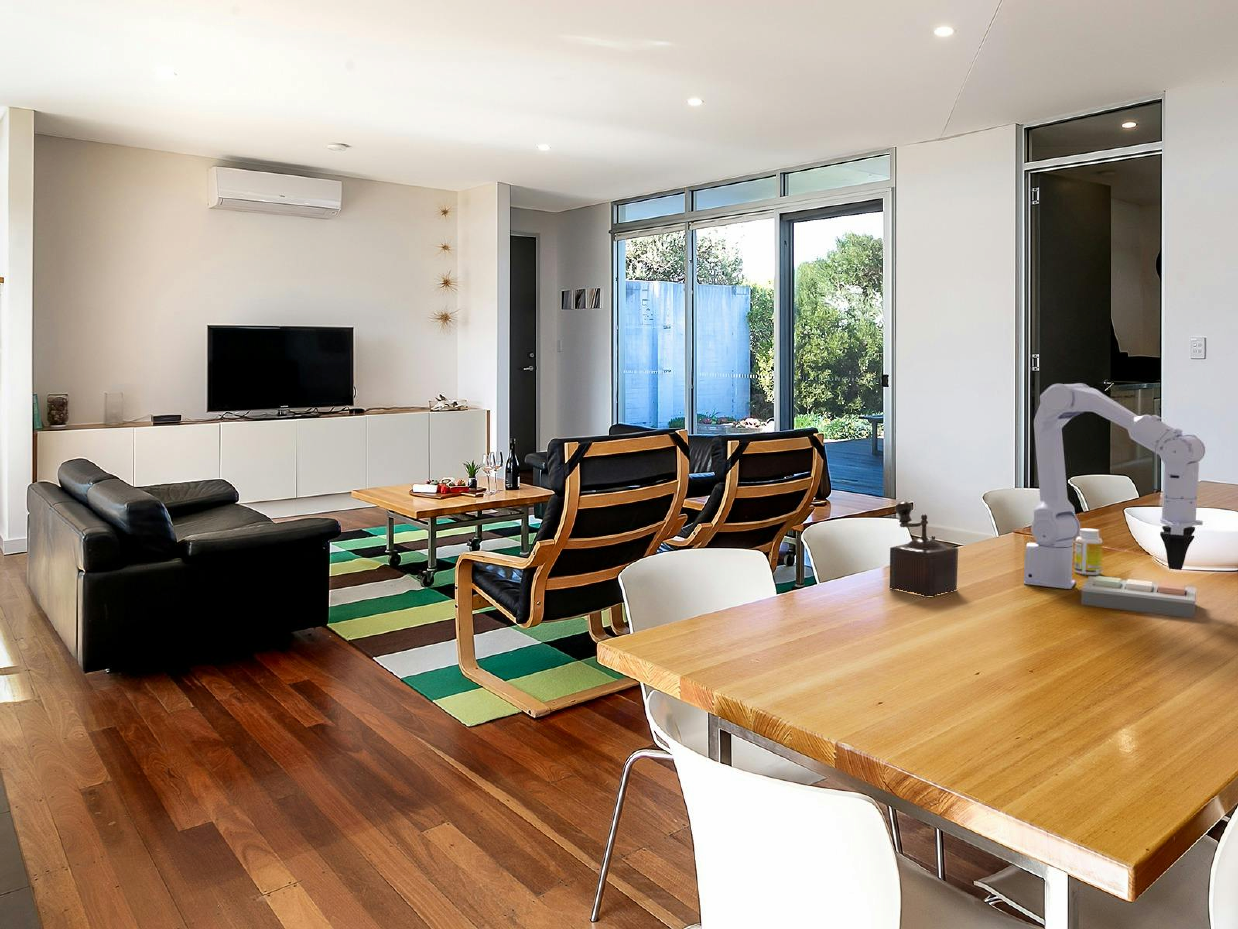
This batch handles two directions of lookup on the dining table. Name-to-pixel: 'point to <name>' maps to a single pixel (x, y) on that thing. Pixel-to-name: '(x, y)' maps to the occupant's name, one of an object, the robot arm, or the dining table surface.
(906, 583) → the manual coffee grinder
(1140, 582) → the cream key
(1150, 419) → the robot arm
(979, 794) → the dining table surface
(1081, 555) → the supplement bottle
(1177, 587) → the terracotta key
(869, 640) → the dining table surface
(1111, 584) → the sage key
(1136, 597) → the keypad base
